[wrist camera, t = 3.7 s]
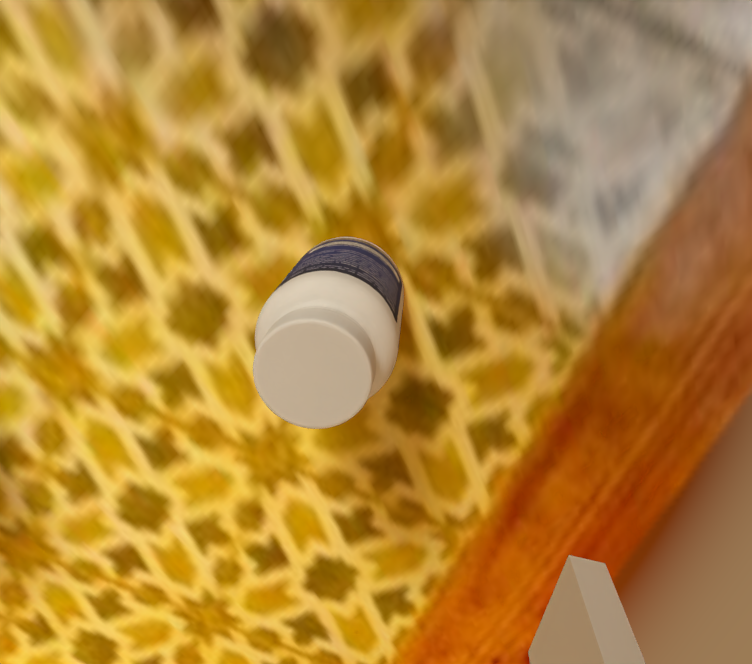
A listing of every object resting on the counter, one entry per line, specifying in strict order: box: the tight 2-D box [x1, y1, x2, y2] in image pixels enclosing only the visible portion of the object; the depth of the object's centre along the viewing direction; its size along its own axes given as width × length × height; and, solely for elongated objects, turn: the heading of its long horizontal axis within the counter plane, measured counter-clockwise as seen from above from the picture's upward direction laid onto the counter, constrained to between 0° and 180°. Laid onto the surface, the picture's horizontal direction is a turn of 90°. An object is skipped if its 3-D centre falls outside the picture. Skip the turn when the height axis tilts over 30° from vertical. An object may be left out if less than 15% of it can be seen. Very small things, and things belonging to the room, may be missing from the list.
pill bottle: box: [253, 237, 404, 429], centre depth 24 cm, size 5×5×10 cm
